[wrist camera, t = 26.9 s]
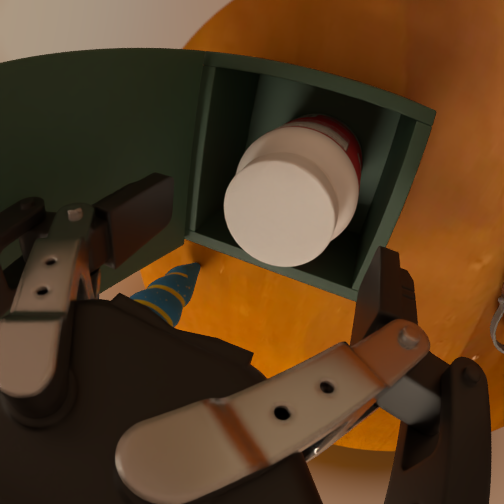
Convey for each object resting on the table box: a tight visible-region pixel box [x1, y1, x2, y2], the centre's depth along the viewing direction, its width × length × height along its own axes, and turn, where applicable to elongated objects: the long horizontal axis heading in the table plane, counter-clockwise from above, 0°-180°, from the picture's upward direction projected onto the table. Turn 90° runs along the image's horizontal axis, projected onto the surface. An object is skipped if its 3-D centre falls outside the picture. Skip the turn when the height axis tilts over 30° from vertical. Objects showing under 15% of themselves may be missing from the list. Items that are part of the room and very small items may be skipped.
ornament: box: [130, 262, 200, 327], centre depth 26 cm, size 5×5×15 cm
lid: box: [0, 48, 205, 320], centre depth 13 cm, size 12×12×6 cm
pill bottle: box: [224, 114, 362, 267], centre depth 17 cm, size 6×6×11 cm
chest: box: [184, 51, 436, 302], centre depth 19 cm, size 12×12×8 cm
